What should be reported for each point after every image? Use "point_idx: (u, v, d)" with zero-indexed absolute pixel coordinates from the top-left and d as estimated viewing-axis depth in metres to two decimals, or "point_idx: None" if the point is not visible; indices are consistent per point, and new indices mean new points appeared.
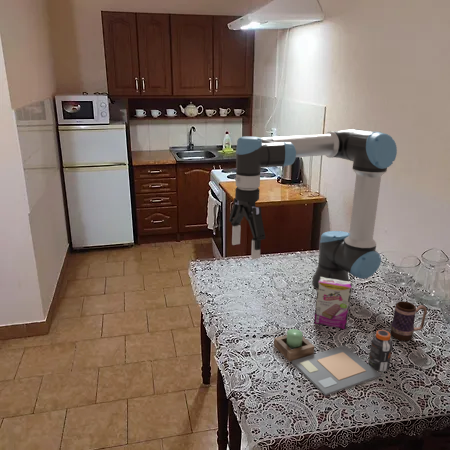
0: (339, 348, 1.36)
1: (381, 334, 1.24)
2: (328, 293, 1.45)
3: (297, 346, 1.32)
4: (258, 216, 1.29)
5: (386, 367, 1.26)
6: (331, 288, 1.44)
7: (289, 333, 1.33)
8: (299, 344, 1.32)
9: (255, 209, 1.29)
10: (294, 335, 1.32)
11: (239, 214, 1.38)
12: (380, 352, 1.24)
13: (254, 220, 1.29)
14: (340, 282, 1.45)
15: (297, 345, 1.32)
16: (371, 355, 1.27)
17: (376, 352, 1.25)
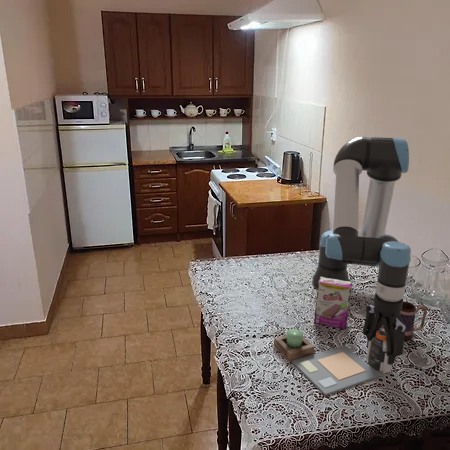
0: (339, 348, 1.36)
1: (381, 334, 1.24)
2: (328, 293, 1.45)
3: (297, 346, 1.32)
4: (402, 334, 1.19)
5: None
6: (331, 288, 1.44)
7: (289, 333, 1.33)
8: (299, 344, 1.32)
9: (402, 328, 1.17)
10: (294, 335, 1.32)
11: (377, 324, 1.25)
12: (381, 352, 1.24)
13: (396, 337, 1.19)
14: (340, 282, 1.45)
15: (297, 345, 1.32)
16: (371, 355, 1.27)
17: (376, 352, 1.25)
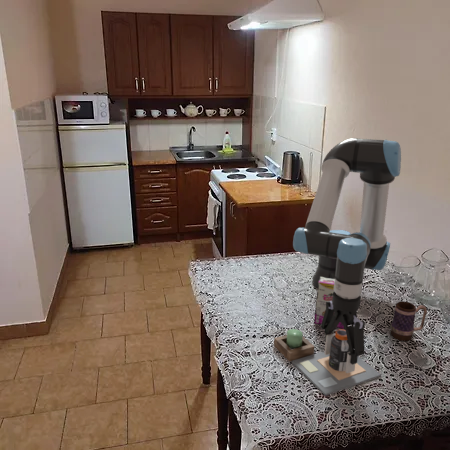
0: None
1: (340, 334, 1.23)
2: (328, 293, 1.45)
3: (297, 346, 1.32)
4: (360, 331, 1.16)
5: (345, 367, 1.24)
6: (331, 288, 1.44)
7: (289, 333, 1.33)
8: (299, 344, 1.32)
9: (359, 325, 1.15)
10: (294, 335, 1.32)
11: (335, 321, 1.24)
12: (339, 352, 1.22)
13: (355, 335, 1.16)
14: None
15: (297, 345, 1.32)
16: (330, 355, 1.25)
17: (335, 351, 1.23)
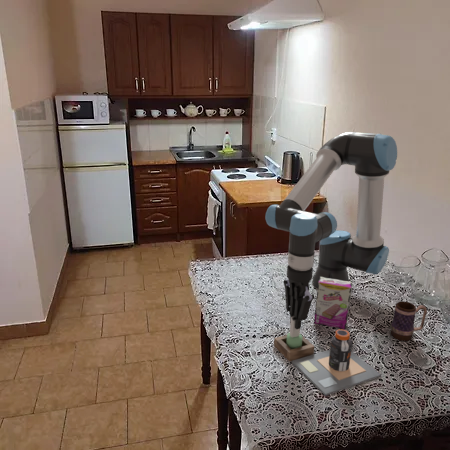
0: None
1: (340, 334, 1.23)
2: (328, 293, 1.45)
3: None
4: (308, 302, 1.25)
5: (345, 367, 1.24)
6: (331, 289, 1.44)
7: (289, 336, 1.33)
8: None
9: (308, 299, 1.23)
10: (294, 338, 1.33)
11: (293, 296, 1.29)
12: (339, 352, 1.22)
13: (303, 305, 1.25)
14: (340, 282, 1.45)
15: None
16: (331, 355, 1.25)
17: (335, 351, 1.23)
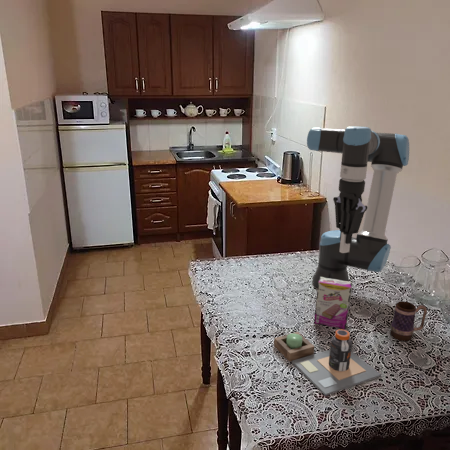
0: None
1: (340, 334, 1.23)
2: (328, 293, 1.45)
3: None
4: (361, 214, 1.28)
5: (345, 367, 1.24)
6: (331, 288, 1.44)
7: (289, 337, 1.34)
8: None
9: (362, 209, 1.26)
10: (294, 339, 1.33)
11: (345, 210, 1.32)
12: (339, 352, 1.22)
13: (355, 216, 1.28)
14: (340, 282, 1.45)
15: None
16: (331, 355, 1.25)
17: (335, 351, 1.23)
